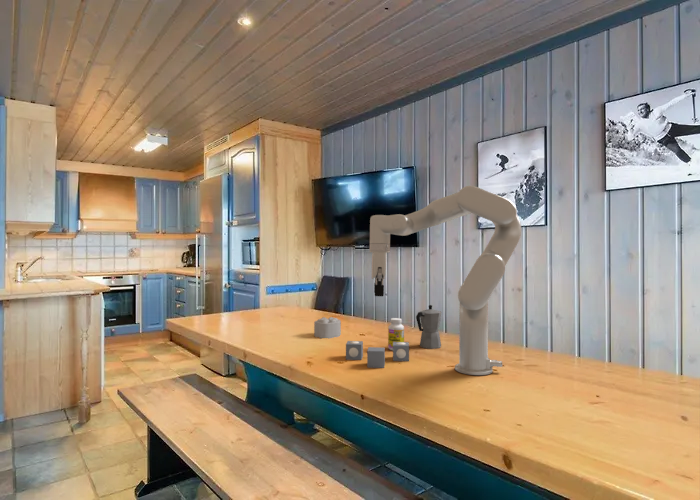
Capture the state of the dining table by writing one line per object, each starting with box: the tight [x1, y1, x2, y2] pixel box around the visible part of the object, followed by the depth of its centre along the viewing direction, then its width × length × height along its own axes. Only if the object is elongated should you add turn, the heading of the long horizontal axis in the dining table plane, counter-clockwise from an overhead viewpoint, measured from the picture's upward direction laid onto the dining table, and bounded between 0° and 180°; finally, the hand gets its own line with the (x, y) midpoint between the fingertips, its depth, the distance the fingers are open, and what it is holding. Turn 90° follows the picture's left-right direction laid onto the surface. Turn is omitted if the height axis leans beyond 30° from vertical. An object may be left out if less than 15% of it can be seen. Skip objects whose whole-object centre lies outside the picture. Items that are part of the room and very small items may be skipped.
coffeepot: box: [415, 304, 442, 350], centre depth 185 cm, size 15×9×18 cm, turn 129°
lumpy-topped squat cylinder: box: [313, 316, 342, 339], centre depth 210 cm, size 10×13×9 cm
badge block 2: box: [392, 341, 410, 362], centre depth 165 cm, size 6×6×6 cm
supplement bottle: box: [387, 317, 405, 351], centre depth 181 cm, size 7×7×13 cm
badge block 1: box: [345, 340, 364, 361], centre depth 167 cm, size 6×6×6 cm
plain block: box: [366, 346, 386, 369], centre depth 156 cm, size 6×6×6 cm
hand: (378, 294), depth 159 cm, fingers open, 9 cm apart
